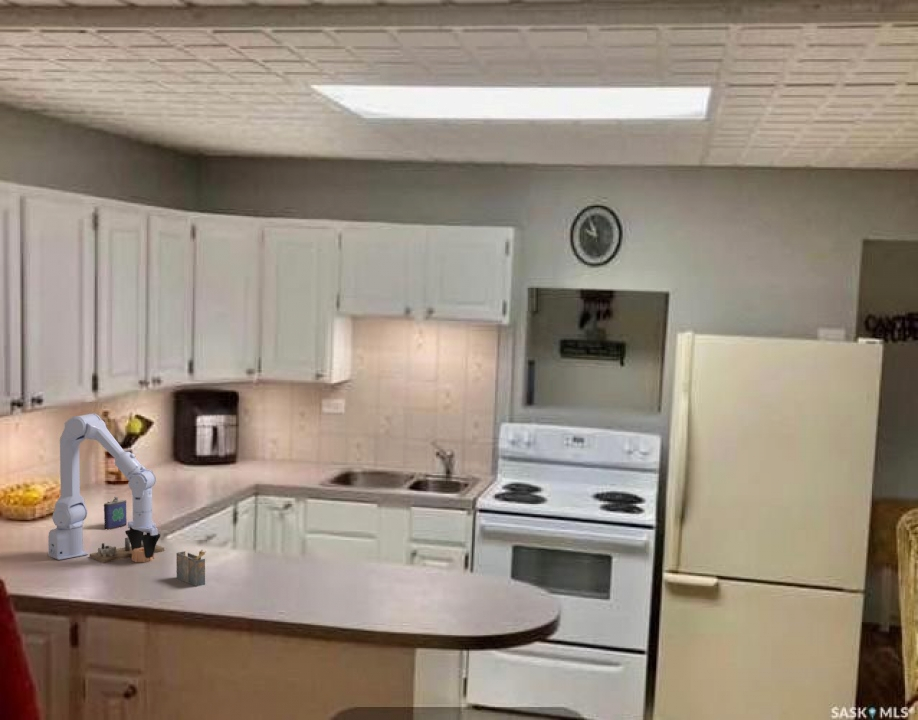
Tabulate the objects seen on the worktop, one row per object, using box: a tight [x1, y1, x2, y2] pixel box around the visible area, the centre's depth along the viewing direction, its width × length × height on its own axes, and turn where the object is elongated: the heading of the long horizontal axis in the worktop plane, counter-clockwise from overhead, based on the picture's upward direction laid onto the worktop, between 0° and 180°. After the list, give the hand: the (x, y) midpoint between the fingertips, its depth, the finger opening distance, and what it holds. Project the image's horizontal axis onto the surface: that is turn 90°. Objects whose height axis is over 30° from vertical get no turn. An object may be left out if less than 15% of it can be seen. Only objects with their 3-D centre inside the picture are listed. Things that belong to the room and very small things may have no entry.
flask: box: [103, 496, 128, 531], centre depth 330 cm, size 9×3×11 cm, turn 152°
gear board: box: [89, 537, 165, 563], centre depth 294 cm, size 20×9×5 cm, turn 137°
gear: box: [131, 547, 155, 563], centre depth 288 cm, size 6×6×3 cm
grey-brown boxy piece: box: [176, 549, 207, 587], centre depth 266 cm, size 11×3×10 cm, turn 44°
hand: (142, 555), depth 288 cm, fingers open, 7 cm apart
